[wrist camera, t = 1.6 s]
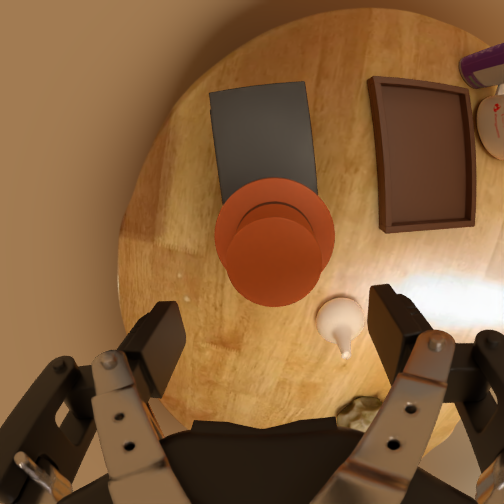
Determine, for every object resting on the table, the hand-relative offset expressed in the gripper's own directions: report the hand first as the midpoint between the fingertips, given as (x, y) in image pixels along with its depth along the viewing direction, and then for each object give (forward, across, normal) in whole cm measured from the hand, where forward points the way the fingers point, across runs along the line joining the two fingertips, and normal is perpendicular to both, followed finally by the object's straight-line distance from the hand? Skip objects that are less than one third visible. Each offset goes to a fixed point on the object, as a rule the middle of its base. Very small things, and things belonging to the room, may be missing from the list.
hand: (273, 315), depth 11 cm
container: (+22, -29, -18) cm, 40 cm away
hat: (+11, 0, 0) cm, 11 cm away
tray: (+22, -19, -6) cm, 30 cm away
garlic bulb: (+22, -7, +14) cm, 28 cm away
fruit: (+22, -12, +36) cm, 44 cm away
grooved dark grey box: (+22, 0, -4) cm, 22 cm away
